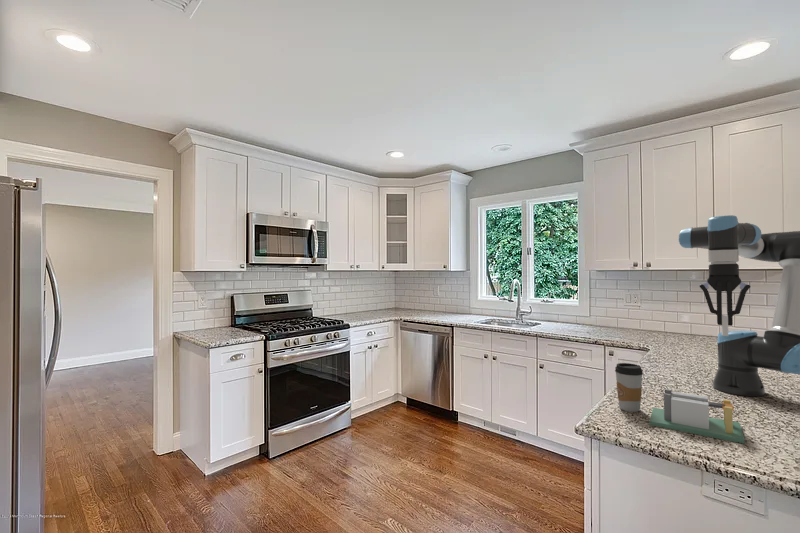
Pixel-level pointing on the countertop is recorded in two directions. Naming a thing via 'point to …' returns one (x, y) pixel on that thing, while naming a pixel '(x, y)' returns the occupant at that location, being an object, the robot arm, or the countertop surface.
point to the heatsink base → (710, 433)
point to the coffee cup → (629, 386)
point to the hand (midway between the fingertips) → (725, 335)
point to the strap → (719, 405)
